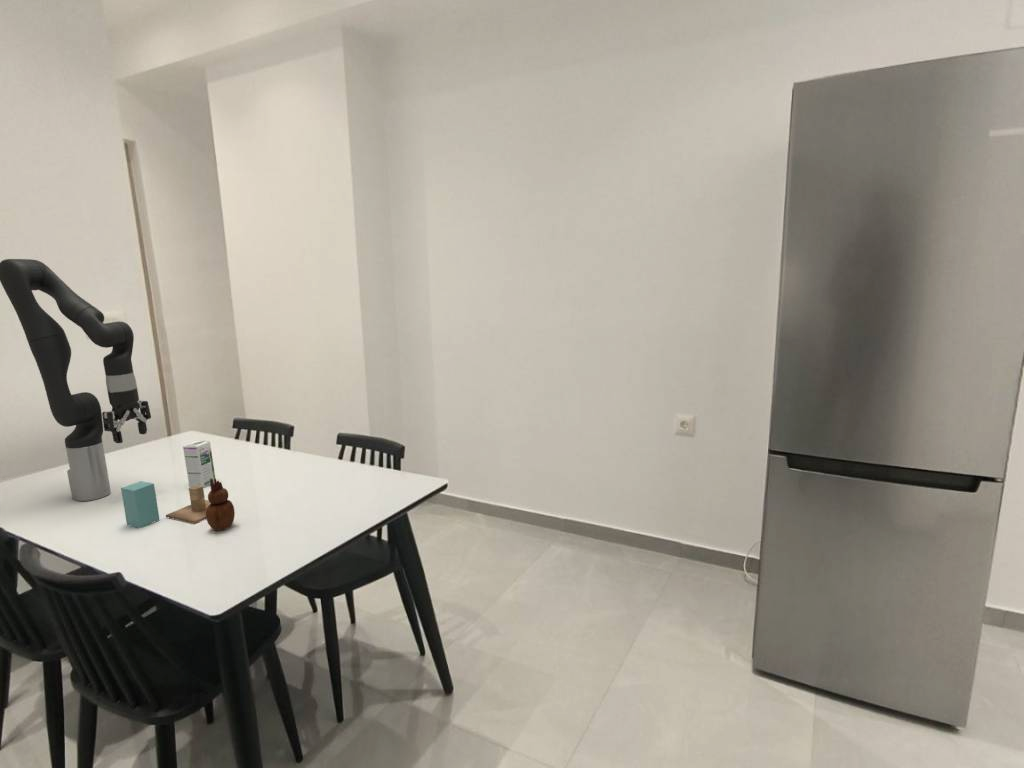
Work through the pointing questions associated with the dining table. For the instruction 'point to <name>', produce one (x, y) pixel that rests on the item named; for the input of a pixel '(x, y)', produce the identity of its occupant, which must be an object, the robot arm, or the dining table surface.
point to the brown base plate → (193, 507)
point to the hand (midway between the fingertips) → (131, 438)
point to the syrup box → (199, 463)
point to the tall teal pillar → (140, 504)
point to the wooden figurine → (219, 507)
